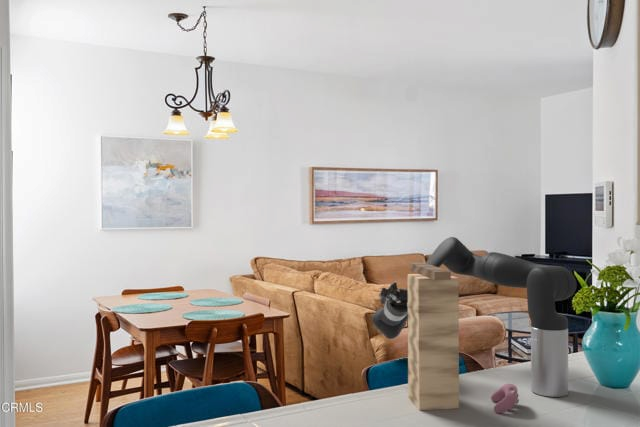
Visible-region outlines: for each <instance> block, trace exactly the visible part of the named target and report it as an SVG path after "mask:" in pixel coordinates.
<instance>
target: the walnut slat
mask: <svg viewBox="0 0 640 427" xmlns="http://www.w3.org/2000/svg"><path fill="white" fill-rule="evenodd" d="M408 266H409V268H408V270H409V271H410V272H413V273H414V274H420V275H423V276H426V277H428V278H431V279H433V280H451V276H452V272H451V271H450V270H449V269H445V268H441V267H436V266H433V265H430V264H426V262H409V265H408Z"/></svg>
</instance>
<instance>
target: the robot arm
mask: <svg viewBox="0 0 640 427" xmlns="http://www.w3.org/2000/svg"><path fill="white" fill-rule="evenodd" d="M425 263H426V264H430V265H433V266H436V267H439V268H441V266H444V267H445V268H446V269H447V270H448V271H451V273H453V274H457V275H463V276H469V277H474V278H477V279H479V280H482V281H486V282H488V283H491V284H494V285H497V286H501V287H506V288H507V287H508V288H517V289H518V288H519V289H520V288H521V289H526V298H527V299H526V302H527V313H528V316H529V320H530V390H531V392H532V393H534V394H535V395H540V396H545V397H550V398H551V397H552V398H553V397H555V398H559V397H565V396H568V394H569V319H568V317H567V316H565V315H563V314H560V313H559V312H557V310H556V304H555V302H558V301H564V300H567V299H568V298H571V297H572V296H573V295H574V293H575V292H576V290H577V280H576V278H575V276H574V274H573V273H572V272H571V271H570V269H568V268H566V267H564V266H561V265H548V264H540V263H536V262H532V261H529V260H525V259H522V258H519V257H515V256H512V255H510V254H509V255H508V254H504V253H501V252H497V251H496V252H495V251H491V252H488V253H485V254H483V255H478V254H476V253H474V252H472V251H471V250H470V249H469V248H468V247H467V246H466V245H465V244H464V243H462V241H460V240H459V239H458V238H457V237H454V236H450V237H447V238H446V239H444V240H443V241H441V243H439V245H438V246H437V247H436V248H435V250H433V252H432V254H431V255H430V256H429V257H428V259H427V260H426V262H425ZM379 300H380V304H383V303H384V305H383V307H380V308H378V309H377V310H376V311H375V312H374V313H373V314H372V317H371V322H372V324H373V326H374V327H376V328H377V329H378V330H379V332H381V333H382V335H383V336H384V337H385V338H387V339H388V340H393V339H396V338H397V337H398V336H399V335H400V334H401V332H402V330H403V328H404V326H405V325H406V323H407V322H408V307H407V303H408V286H407V287H405V289H404V288H398V285H397V282H393V283H392V284H390V285H389V287H388V288H387V287H382V288H381V290H380V293H379Z"/></svg>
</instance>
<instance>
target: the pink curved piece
mask: <svg viewBox="0 0 640 427" xmlns="http://www.w3.org/2000/svg"><path fill="white" fill-rule="evenodd" d="M490 400H491V401H492V402H494V403H496V404H495V405H494V407H493V410H494V412H495V413H496V414H503V413H506V412H507V411H510V410H511V409H512V408H513V407H514V406H516V405H517V404H519V402H520V399H519V393H518V387H517V385H515V384H514V383H509V382H506V383H505V384H503V385H502V386H501V387H500V388H498V389H497V390H496V391H494V392H493V393H492V395H491V396H490Z"/></svg>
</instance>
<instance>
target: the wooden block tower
mask: <svg viewBox="0 0 640 427" xmlns="http://www.w3.org/2000/svg"><path fill="white" fill-rule="evenodd" d="M407 287H408V303H407V307H408V319H407V388H408V389H407V390H408V392H407V394H408V396H407V397H408V399H409V400H410V401H411V403H413V405H414V406H415V407H416V408H417V409H418V410H419V411H427V410H428V411H430V410H431V411H433V410H449V409H450V410H451V409H460V366H459V365H460V364H459V363H460V362H459V361H460V351H459V349H460V342H459V341H460V340H459V339H460V338H459V337H460V334H459V333H460V332H459V331H460V330H459V327H460V325H459V324H460V322H459V320H460V318H459V317H460V316H459V313H460V308H459V307H460V306H459V298H460V297H459V294H460V293H459V277H457V276H453V275H451V280H433V279H431V278H428V277H426V276H423V275H420V274H418V273H408V274H407Z"/></svg>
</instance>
